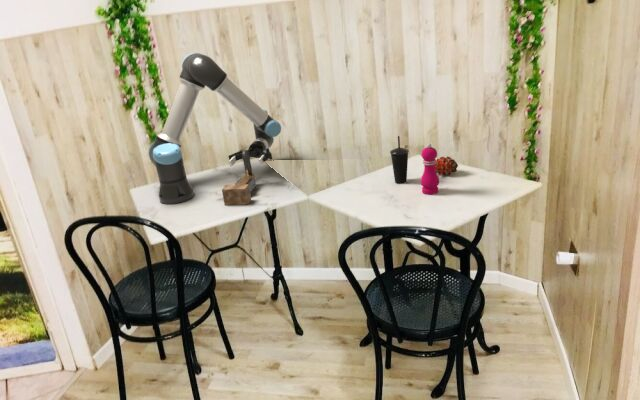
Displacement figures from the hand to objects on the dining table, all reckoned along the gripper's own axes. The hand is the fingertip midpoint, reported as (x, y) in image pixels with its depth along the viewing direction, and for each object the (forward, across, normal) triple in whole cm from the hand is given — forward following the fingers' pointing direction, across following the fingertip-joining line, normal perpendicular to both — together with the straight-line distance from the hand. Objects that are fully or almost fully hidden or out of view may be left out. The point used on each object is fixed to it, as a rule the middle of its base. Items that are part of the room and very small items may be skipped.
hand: (244, 163), depth 228 cm
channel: (+4, 0, -12) cm, 13 cm away
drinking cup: (-2, -67, -12) cm, 68 cm away
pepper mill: (+10, -79, -12) cm, 80 cm away
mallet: (+3, 0, -10) cm, 11 cm away
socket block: (+16, 0, -12) cm, 20 cm away
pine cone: (-9, -85, -12) cm, 86 cm away
